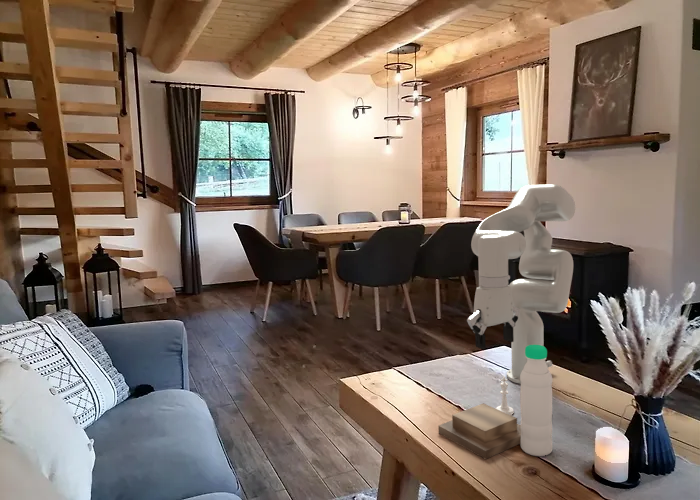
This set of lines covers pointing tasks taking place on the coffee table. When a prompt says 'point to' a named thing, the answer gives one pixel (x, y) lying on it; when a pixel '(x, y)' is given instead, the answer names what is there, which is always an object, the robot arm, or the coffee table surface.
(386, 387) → the coffee table surface
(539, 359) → the water bottle
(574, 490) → the coffee table surface
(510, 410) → the chess piece
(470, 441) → the plinth
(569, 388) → the coffee table surface
